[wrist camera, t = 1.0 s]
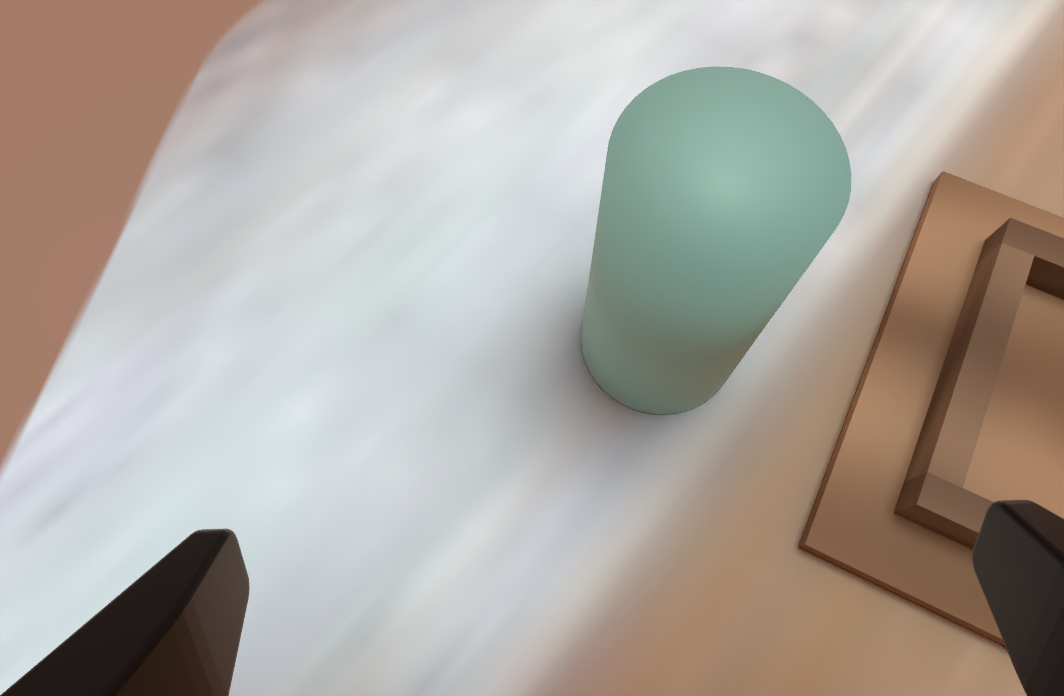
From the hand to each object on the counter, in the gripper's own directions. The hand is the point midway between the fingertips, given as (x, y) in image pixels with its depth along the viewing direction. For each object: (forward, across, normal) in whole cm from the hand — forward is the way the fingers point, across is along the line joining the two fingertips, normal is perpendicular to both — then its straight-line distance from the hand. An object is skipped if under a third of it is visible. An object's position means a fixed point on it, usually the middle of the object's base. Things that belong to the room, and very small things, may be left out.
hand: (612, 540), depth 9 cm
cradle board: (+12, -16, +8) cm, 22 cm away
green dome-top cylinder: (+15, -3, +6) cm, 17 cm away
